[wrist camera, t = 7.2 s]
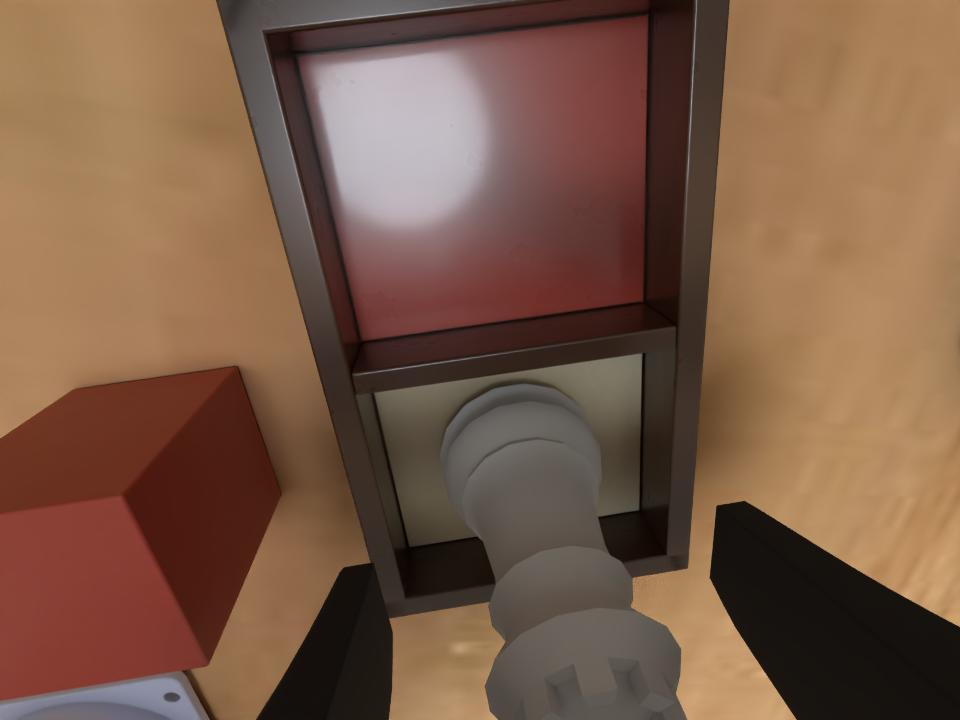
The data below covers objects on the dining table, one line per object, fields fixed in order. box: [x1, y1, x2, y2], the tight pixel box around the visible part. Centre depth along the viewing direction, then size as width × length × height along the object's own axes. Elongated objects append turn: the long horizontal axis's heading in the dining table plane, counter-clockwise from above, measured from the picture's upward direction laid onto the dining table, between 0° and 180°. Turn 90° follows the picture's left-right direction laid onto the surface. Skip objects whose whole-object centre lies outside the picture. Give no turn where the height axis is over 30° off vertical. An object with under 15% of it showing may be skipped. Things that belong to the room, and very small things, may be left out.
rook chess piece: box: [440, 383, 687, 720], centre depth 11 cm, size 4×4×8 cm
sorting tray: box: [216, 0, 730, 618], centre depth 12 cm, size 15×9×2 cm, turn 7°
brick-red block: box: [0, 367, 281, 701], centre depth 12 cm, size 4×4×6 cm
